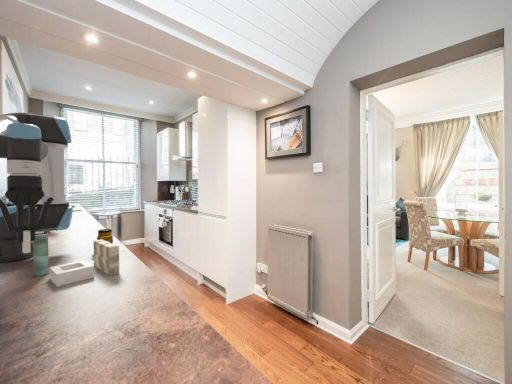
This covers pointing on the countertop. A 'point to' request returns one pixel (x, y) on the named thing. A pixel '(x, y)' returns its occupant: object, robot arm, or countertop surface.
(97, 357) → the countertop surface
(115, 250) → the wall
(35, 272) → the dowel
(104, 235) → the condiment
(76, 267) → the socket block
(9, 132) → the robot arm
